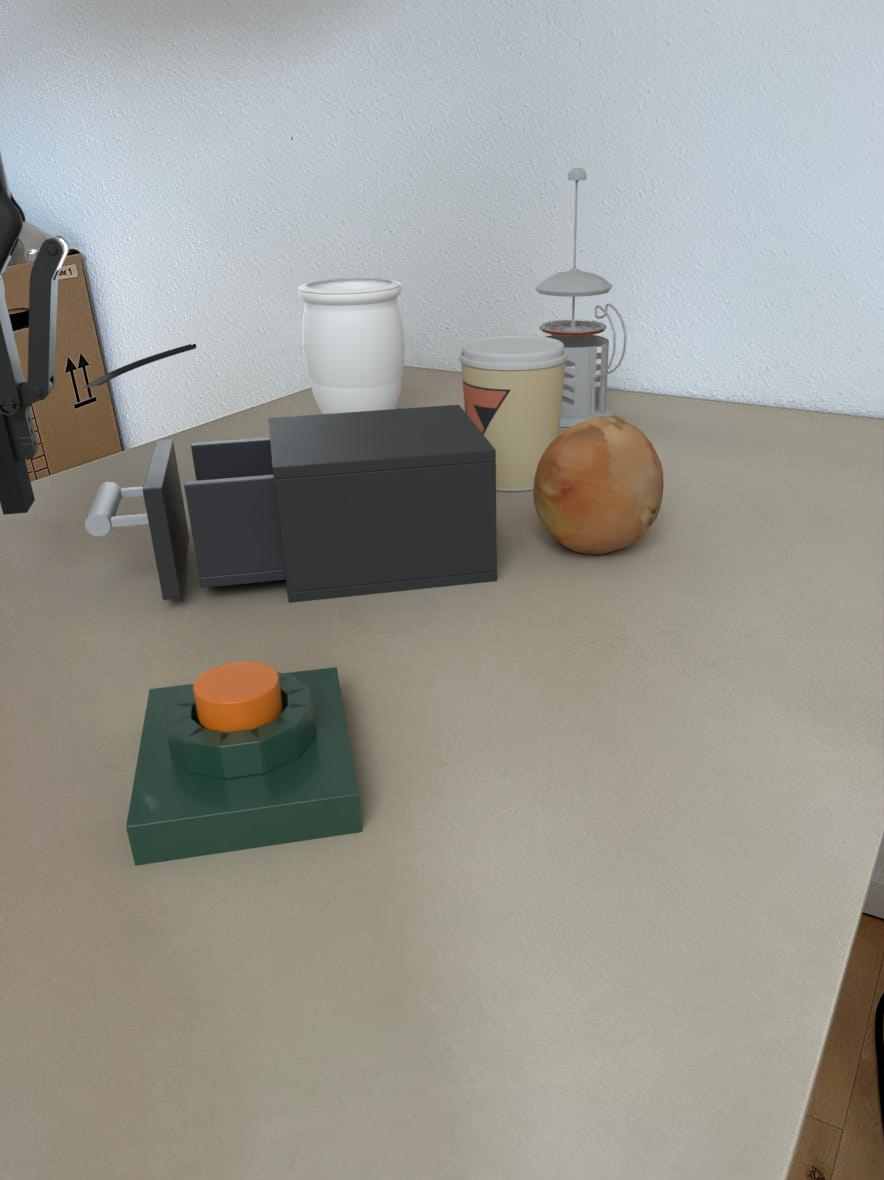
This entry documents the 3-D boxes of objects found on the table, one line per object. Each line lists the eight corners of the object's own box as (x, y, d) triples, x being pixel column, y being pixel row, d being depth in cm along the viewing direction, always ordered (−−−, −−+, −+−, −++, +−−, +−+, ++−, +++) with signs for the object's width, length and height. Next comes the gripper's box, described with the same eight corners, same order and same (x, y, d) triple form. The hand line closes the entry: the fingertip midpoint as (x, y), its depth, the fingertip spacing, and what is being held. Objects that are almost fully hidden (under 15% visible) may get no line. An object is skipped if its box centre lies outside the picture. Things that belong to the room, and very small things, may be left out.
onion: (558, 518, 80) (561, 396, 75) (676, 536, 76) (687, 408, 71) (509, 560, 72) (509, 427, 68) (638, 582, 68) (647, 443, 64)
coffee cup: (447, 470, 92) (443, 339, 86) (536, 457, 95) (537, 330, 89) (487, 500, 84) (485, 359, 78) (582, 485, 87) (586, 348, 82)
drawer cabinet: (288, 603, 66) (272, 467, 62) (282, 537, 77) (268, 417, 73) (497, 581, 69) (495, 449, 64) (462, 520, 80) (459, 404, 75)
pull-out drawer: (95, 607, 64) (70, 495, 61) (115, 544, 74) (94, 444, 70) (364, 580, 67) (355, 471, 64) (349, 523, 77) (340, 426, 74)
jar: (366, 450, 98) (355, 294, 91) (290, 435, 103) (274, 287, 96) (428, 425, 106) (422, 280, 99) (354, 413, 111) (344, 274, 104)
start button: (200, 696, 48) (194, 665, 48) (281, 686, 49) (277, 656, 48) (196, 739, 45) (190, 707, 44) (284, 728, 46) (279, 696, 45)
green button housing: (156, 723, 53) (143, 659, 51) (340, 700, 55) (333, 637, 53) (134, 866, 43) (117, 792, 41) (362, 833, 44) (355, 760, 43)
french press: (568, 400, 115) (574, 165, 103) (645, 418, 107) (661, 166, 96) (508, 415, 109) (507, 168, 97) (586, 436, 101) (595, 170, 90)
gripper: (-238, 108, 50) (-103, 535, 61) (28, 104, 53) (113, 516, 63) (-182, 113, 57) (-69, 498, 68) (52, 108, 59) (126, 482, 70)
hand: (19, 506), depth 66 cm, fingers closed
